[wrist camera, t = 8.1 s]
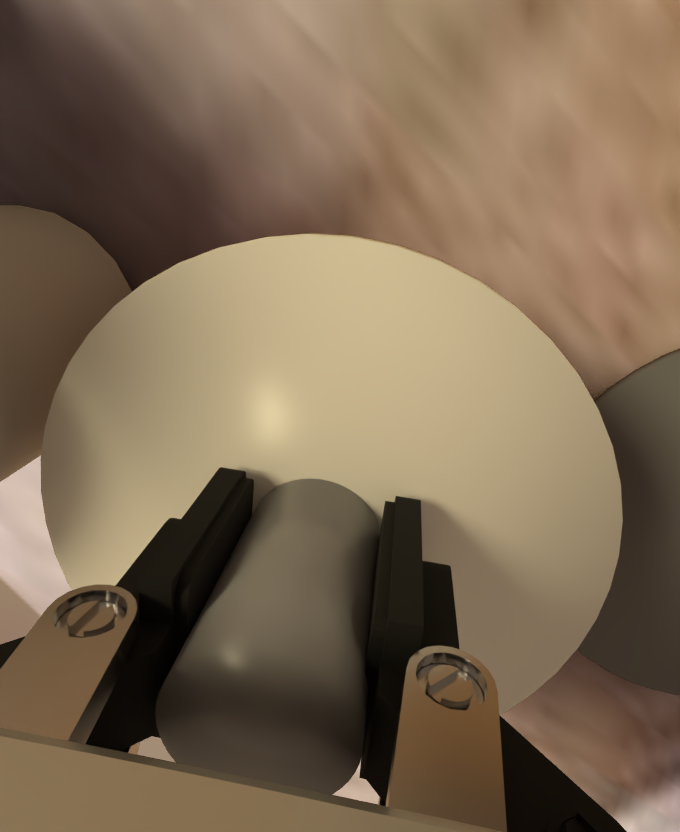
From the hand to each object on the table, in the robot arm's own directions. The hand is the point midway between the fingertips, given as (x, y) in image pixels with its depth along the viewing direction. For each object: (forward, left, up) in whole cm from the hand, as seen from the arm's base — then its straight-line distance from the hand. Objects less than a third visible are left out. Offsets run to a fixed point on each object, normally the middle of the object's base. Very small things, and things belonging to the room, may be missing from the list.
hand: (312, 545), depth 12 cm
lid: (0, 0, -1) cm, 1 cm away
